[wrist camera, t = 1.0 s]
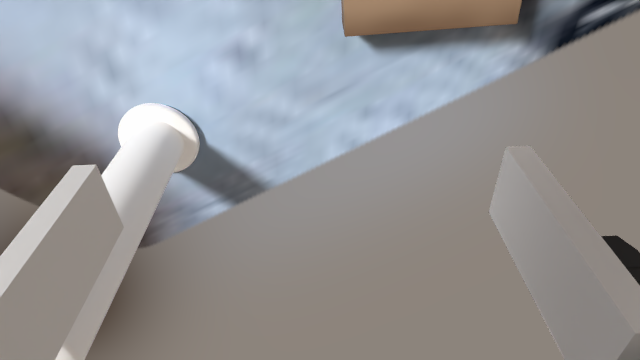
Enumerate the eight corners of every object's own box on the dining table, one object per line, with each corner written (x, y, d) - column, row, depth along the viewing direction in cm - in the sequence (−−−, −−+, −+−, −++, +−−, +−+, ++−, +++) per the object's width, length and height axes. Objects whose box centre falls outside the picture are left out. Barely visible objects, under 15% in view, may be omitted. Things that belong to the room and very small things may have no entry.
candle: (126, 90, 36) (-121, 374, 15) (208, 118, 37) (82, 408, 17) (116, 155, 39) (-92, 451, 19) (190, 178, 41) (72, 472, 21)
